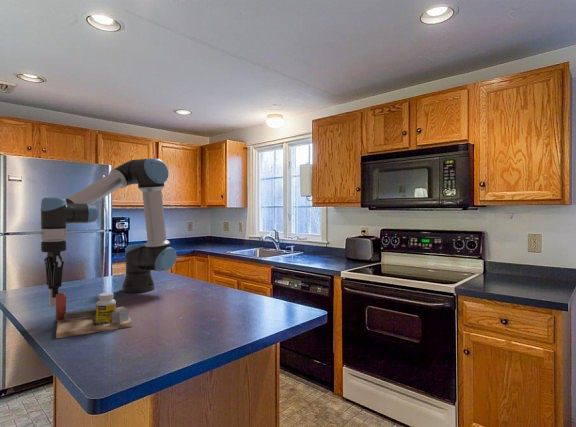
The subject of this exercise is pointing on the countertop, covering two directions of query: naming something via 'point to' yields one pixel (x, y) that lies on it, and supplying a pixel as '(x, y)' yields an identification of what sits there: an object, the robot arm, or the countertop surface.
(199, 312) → the countertop surface
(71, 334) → the tan flat square sheet
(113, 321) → the grey angular block
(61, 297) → the lever
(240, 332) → the countertop surface
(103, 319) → the pill bottle
